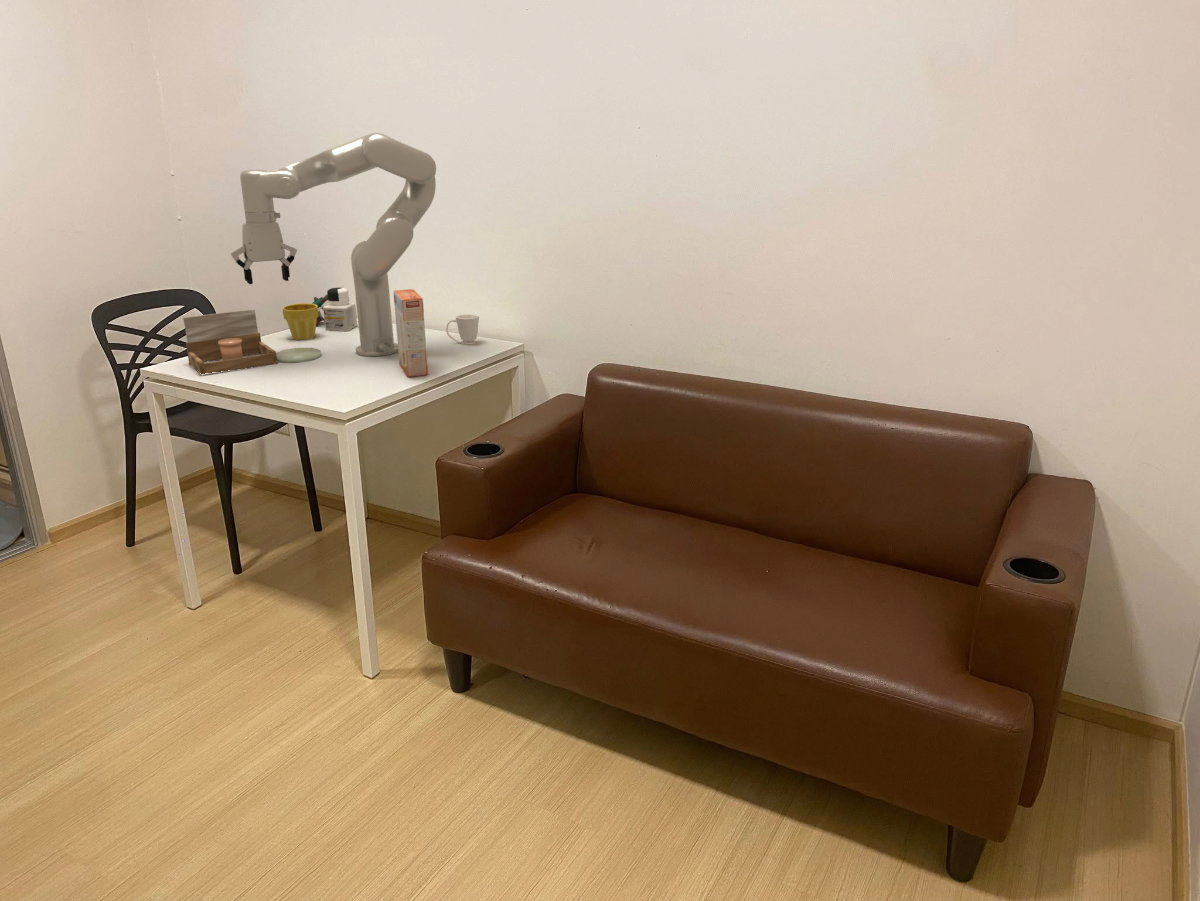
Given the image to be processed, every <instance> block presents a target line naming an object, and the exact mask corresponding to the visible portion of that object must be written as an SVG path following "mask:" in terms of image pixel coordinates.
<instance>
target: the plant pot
mask: <svg viewBox="0 0 1200 901" xmlns="http://www.w3.org/2000/svg"><path fill="white" fill-rule="evenodd" d="M318 309H319V308H318V306H317V305H316V304H312V303H310V302H309V303H308V302H305V303H304V302H302V303H291V304H287V305H284V306H283V307H282V315H283V319H284V320H285V321H286V324H287V325H288V329H289V330H290V334H291V337H292V339H293V340H297V341H301V340H302V341H304V340H310V339H314V338H315V337H316V328H317V326H316V321H317V317H318V316H319V314H318V311H319V310H318Z"/></svg>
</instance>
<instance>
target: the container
mask: <svg viewBox="0 0 1200 901" xmlns="http://www.w3.org/2000/svg"><path fill="white" fill-rule="evenodd" d="M326 292H327V293H326V295H328V300H327V303H328V304H327V305H323V306H324V307H323V306H322V307H323V309H322V312H323V318H324V320H325V322H324V325H325V326H324V327H325V331H327V330H330V331H329V332H331V331H333V332H334V331H335V332H350V331H351V330H352V328H353V329H354V327H355V326H356V327H358V315H357V306H356V302H350V295H349V293H350V292H349V289H347V288H346V287H331V288H329V289H328V290H327V291H326ZM356 327H355V328H356Z"/></svg>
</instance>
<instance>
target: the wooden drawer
mask: <svg viewBox="0 0 1200 901" xmlns="http://www.w3.org/2000/svg"><path fill="white" fill-rule="evenodd" d="M182 320H183V324H184V331H185V335H186V342H185V347H186V353H187V359H188V363H189V365H190V366H191V365H192V366H193V367H194V368H193V367H192V366H191V367H192V368H193V369H194V370H195V371H197V370H198V371H199V372H200V373H201V374H205V373H212V372H221V371H228V370H234V371H239V370H238V369H241V370H246V369H245V368H247V369H252V368H251V367H253V368H258V366H259V367H266V366H271V365H277V364H279V363H278V361H277V356H276V353H277V351H276V350H275V349H273V348H272V347H270V346H269V345H267V344H266V343H264V342H263V341H262V337H261V333H260V332H259V331H258V324H257V317H256V310H255V309H254V308H252V309H251V308H250V309H244V310H243V309H241V310H235V311H228V312H217V313H210V314H203V315H195V316H186V317H183V319H182ZM228 338H240V339H242V343H241V347H242V354H243V357H242V358H235V359H229V360H220V359H222V356H221V350H220V346H219V345H218V341H219V340H222V339H228ZM213 360H215V361H213ZM207 361H209V362H207ZM198 371H197V372H198ZM199 372H198V373H199ZM228 372H229V371H228ZM200 373H199V374H200ZM201 374H200V375H201Z"/></svg>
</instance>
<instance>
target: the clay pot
mask: <svg viewBox="0 0 1200 901" xmlns="http://www.w3.org/2000/svg"><path fill="white" fill-rule="evenodd" d="M241 343H242V339H240V338H228V339H222V340H219V341H218V345H219V346H220V350H221V356H222V360H229V359H235V358H242V357H244V356H243V354H242V347H241ZM222 360H221V361H222Z"/></svg>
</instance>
